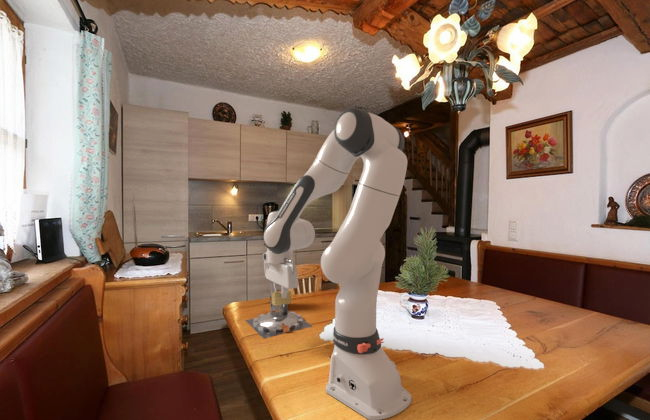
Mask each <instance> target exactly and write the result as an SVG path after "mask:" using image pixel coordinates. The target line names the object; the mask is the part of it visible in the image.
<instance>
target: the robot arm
mask: <svg viewBox="0 0 650 420" xmlns="http://www.w3.org/2000/svg"><path fill="white" fill-rule="evenodd" d="M404 148H405V138H404V135H403V133H402V131H400V129H399V128H398V127H397V126H395V125H394V124H393V125H392V124H391V123H389V122H388V121H386V120H385V119H384V118H383V117H381V116H379V115H377V114H374V113H372V112H368V111H367V110H366V109H363V108H357V107H350V108H347V109H345V110H343V111H342V112H341V113H340V114H339V116H338V118H337V119H336V122H335V125H334V129H333V130H332V131H331V132H330V133H329V135H328V136H327V137H326V139H325V141H324V143H323V144H322V146H321V147H320V149H319V151H318V153H317V155H316V157H315V159H314V160H313V163H312V164H311V165H310V167H309V169H308V170H307V171H306V172H305V173H304V174H303V176H302V177H300V178H299V179H298V180H297V181H296V183H295V184H294V186H292V188H291V190H290V192H289V193H288V195H287V197H286V198H285V200H284V202H283V203H282V205H281V207H280V208H279V209H278V210H273V211H271V212H270V213H269V214H268V216H267V222H266V226H265V227H264V230H263V233H262V239H263V243H264V245H265V247H266V252H264V253H263V254H262V259H263V267H264V268H263V271H264V276H265V279H267V280H269V281H272V282H273V285H274V288H275V292H277V291H281V289H280V285H281V288H282V292H281V293H280V295H281V296H280V297H281V298H287V291H288V290H293V289H297V288H298V286H299V275H298V268H297V266H296V264H295V262H294V257H293V256H294V252H293V251H298V250H300V249H301V250H302V249H304V248H309V247H310V246H312V245H313V244H314V242H315V240H316V228H315V226H314V225H313V223H312V222H311V221H310V220H306V219H303V218H300V217H301V215H302V213H303V212H304V210H305V209H306V207H307V206H308V205H309V204H310V203H312V202H314V201H315V200H317V199H320V198H322V197H325V196H327V195H331V194H333V193H335V192H337V191H338V190H339V189H340V188H341V187H342V186H343V184H344V183H345V182H346V180H347V179H348V176H349V174H350V173H351V171H352V168H353V166H354V165H355V163H356V161H357V160H358V159H359V158H361V159H362V162H363V168H362V172H361V174H360V177H359V180H358V184H357V187H356V188H355V193H354V195H353V198H352V201H351V203H350V207H349V209H348V212H347V214H346V215H345V218H344V219H343V221H342V223H341V225H340V227H339V229H338V231H337V232H336V234H335V236H334V238H333V239H332V241H331V243H329V244H328V246H327V247H326V249H325V250H323V252H322V254H321V257H320V268H321V271H322V274H323V275H324V276H325V278H326V279H327V280H328V281H330V282H331V283H334V284H337V285H340V287H339V289H338V293H337V294H336V297H335V301H334V322H335V323H334V324H335V325H334V327H333V333H332V338H333V344H334V347H333V350H332V353H331V357H330V362H329V374H328V381H327V384H326V386H325V392H326V393H327V394H328V395H329V396H331V397H333V398H335V400H338V401H339V402H341V403H342V404H344V405H345V406H347V407H349V408H350V409H352V410H353V411H355V412H356V413H358V414H360V415H361V416H363V417H364V418H366V419H368V420H385V419H389V418H392V417H394V416H396V415H398V414H399V413H401V412H403V411H405V410H406V409H407V408H408V407H409V406H410V405H411V403H412V394H411V393H410V392H409V391H408V390H406V389H405V388H404V387H403V386H402V379H401V375H400V372H399V370H398V369H397V365H396V363H395V361H393V360H391V359H390V358H389V356H388V354H387V353H386V352H385V351H384V349H383V347H382V344H383V343H385V341H384V340H385V338H380V334H379V330H378V329H377V303H378V302H377V301H378V293H379V287H380V282H381V276H382V275H381V274H382V269H383V268H382V267H383V263H384V260H385V258H386V250H385V246H384V245H383V243H382V241H381V239H382V237H383V235H384V233H385V232H386V230H387V229H388V228H389V227H390V224H391V222H392V219H393V216H394V213H395V210H396V207H397V205H398V202H399V199H400V197H401V194H402V191H403V186H404V184H405V178H406V173H407V168H408V157H407V155H406V154H405V153H404V151H403V150H404Z"/></svg>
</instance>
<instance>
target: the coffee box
mask: <svg viewBox="0 0 650 420" xmlns="http://www.w3.org/2000/svg"><path fill="white" fill-rule="evenodd" d="M269 281H270V280H269ZM269 283H270V285H269V286H270V288H269V289H270V290H269V291H270V292H269V294H270V298H269V299H270V301H269V303H270V305H269V307H270V308H269V309H270V311H269V312H271V311H274V312H280V311H283V305H278V306H274V305H273V304H272V292H275V288H274V285H273V282H272V281H270V282H269ZM280 289H281V291H282V288H281V285H280Z"/></svg>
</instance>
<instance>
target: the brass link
mask: <svg viewBox="0 0 650 420" xmlns="http://www.w3.org/2000/svg"><path fill="white" fill-rule="evenodd" d="M281 292H282V291H277V292H272V304H273V305H274V306H278V305H283V304H291V303H292V291H290V289H288V291H287V298H281V297H280V296H281V295H280V293H281Z"/></svg>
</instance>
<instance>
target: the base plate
mask: <svg viewBox="0 0 650 420" xmlns="http://www.w3.org/2000/svg"><path fill="white" fill-rule="evenodd" d="M289 312H291V310H288V313H289ZM254 318H255V317H254ZM254 318H250V319H245V322H246V323H247V324H248V325H249V326H250V327H251V328H252V329H253V330H254V331H255V332H256V333H257V334H258V335H259V336H260V337H261V338H262V339H268V338H272V337H276V336H280V335H283V334H288V333H291V332H296V331H299V330H304V329H308V328H312V327H313V325H312V324H311V323H309V322H307V321H306V320H305V319H303V324H302V325H300V327H299V328H298V329H296V330H295V329H290V332H286V333H283V332H282V331H278V332H276V334H271V333H269V331H265V332H260V331H258V328H256V329H254V327H253V320H254Z"/></svg>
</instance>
